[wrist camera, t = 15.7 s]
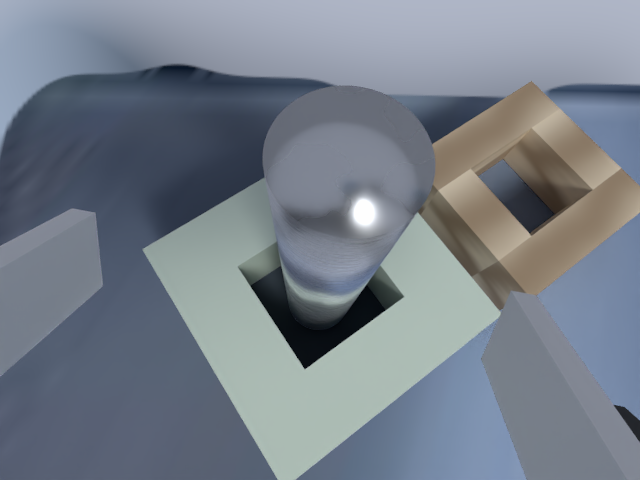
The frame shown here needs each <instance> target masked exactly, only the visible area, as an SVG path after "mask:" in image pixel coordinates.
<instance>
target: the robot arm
mask: <svg viewBox="0 0 640 480" xmlns="http://www.w3.org/2000/svg"><path fill="white" fill-rule="evenodd" d="M102 286H103V282H102V272H101V262H100V252H99V243H98V233H97V223H96V213H94V212H89V211H83V210H78V209H73V208H72V209H70V210H68V211H66V212H64V213H62V214H60V215H58V216H56V217H55V218H53V219H51V220H49V221H47V222H45V223H43V224H41V225H39V226H37V227H35V228H34V229H32V230H30V231H28V232H26V233H24V234H22V235H20V236H18V237H16V238H14V239H13V240H11V241H9V242H7V243H5V244H3V245H1V246H0V376H1V375H3V374H4V373H5V372H6V371H7V370H8V369H9V368H11V367H12V366H13V365H14V364H15V363H16V362H17V361H18V360H20V359H21V358H22V357H23V356H24V355H25V354H26V353H28V352H29V351H30V350H31V349H32V348H33V347H34V346H35V345H37V344H38V343H39V342H40V341H41V340H42V339H43V338H45V337H46V336H47V335H48V334H49V333H50V332H51V331H53V330H54V329H55V328H56V327H57V326H58V325H59V324H60V323H62V322H63V321H64V320H65V319H66V318H67V317H68V316H70V315H71V314H72V313H73V312H74V311H75V310H76V309H77V308H79V307H80V306H81V305H82V304H83V303H84V302H85V301H87V300H88V299H89V298H90V297H91V296H92V295H93V294H95V293H96V292H97V291H98V290H99V289H100V288H101V287H102ZM481 360H482V362H483V365H484V368H485V370H486V373H487V376H488V378H489V381H490V384H491V386H492V389H493V391H494V394H495V397H496V399H497V402H498V405H499V407H500V410H501V413H502V415H503V418H504V421H505V423H506V426H507V429H508V431H509V434H510V436H511V439H512V442H513V444H514V447H515V450H516V452H517V455H518V458H519V460H520V463H521V466H522V468H523V471H524V474H525V476H526V479H527V480H640V421H639V420H638V419H637V418H636V417H635V416H634V415H633V414H632V413H630V412H629V411H628V410H627V409H626V408H625V407H621V406H616V405H613V404H612V402H611V401H610V399H609V398H608V397H607V395H606V394H605V392H604V391H603V390H602V388H601V387H600V385H599V384H598V382H597V381H596V380H595V378H594V377H593V375H592V374H591V373H590V371H589V370H588V368H587V367H586V365H585V364H584V363H583V361H582V360H581V358H580V357H579V356H578V354H577V353H576V351H575V350H574V348H573V347H572V346H571V344H570V343H569V341H568V340H567V338H566V337H565V336H564V334H563V333H562V331H561V330H560V329H559V327H558V326H557V324H556V323H555V321H554V320H553V319H552V317H551V316H550V314H549V313H548V312H547V310H546V309H545V307H544V306H543V304H542V303H541V302H540V300H539V299H538V297H537V296H536V295H532V294H527V293H521V292H516V291H511V292H510V294H509V296H508V298H507V301H506V303H505V305H504V308H503V310H502V312H501V315H500V317H499V319H498V321H497V324H496V326H495V328H494V331H493V333H492V335H491V338H490V340H489V342H488V344H487V347H486V349H485V351H484V354H483V356H482V358H481Z"/></svg>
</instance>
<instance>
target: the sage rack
mask: <svg viewBox="0 0 640 480" xmlns="http://www.w3.org/2000/svg"><path fill="white" fill-rule="evenodd" d="M143 251H144V253H145V255H146V256H147V258H148V260H149V261H150V263H151V265H152V266H153V268H154V270H155V272H156V273H157V275H158V277H159V278H160V280H161V282H162V283H163V285H164V287H165V289H166V290H167V292H168V294H169V295H170V297H171V299H172V300H173V302H174V304H175V306H176V307H177V309H178V311H179V312H180V314H181V316H182V317H183V319H184V321H185V323H186V324H187V326H188V328H189V329H190V331H191V333H192V334H193V336H194V338H195V340H196V341H197V343H198V345H199V346H200V348H201V350H202V351H203V353H204V355H205V357H206V358H207V360H208V362H209V363H210V365H211V367H212V368H213V370H214V372H215V374H216V375H217V377H218V379H219V380H220V382H221V384H222V385H223V387H224V389H225V391H226V392H227V394H228V396H229V397H230V399H231V401H232V402H233V404H234V406H235V408H236V409H237V411H238V413H239V414H240V416H241V418H242V419H243V421H244V423H245V425H246V426H247V428H248V430H249V431H250V433H251V435H252V436H253V438H254V440H255V442H256V443H257V445H258V447H259V448H260V450H261V452H262V453H263V455H264V457H265V459H266V460H267V462H268V464H269V465H270V467H271V469H272V470H273V472H274V474H275V476H276V477H277V479H278V480H295V479H297V478H298V477H299V476H300V475H302V474H303V473H304V472H305V471H307V470H308V469H309V468H310V467H312V466H313V465H314V464H315V463H317V462H318V461H319V460H320V459H322V458H323V457H324V456H325V455H327V454H328V453H329V452H330V451H332V450H333V449H334V448H336V447H337V446H338V445H339V444H341V443H342V442H343V441H344V440H346V439H347V438H348V437H349V436H351V435H352V434H353V433H354V432H356V431H357V430H358V429H359V428H361V427H362V426H363V425H364V424H366V423H367V422H368V421H369V420H371V419H372V418H373V417H374V416H376V415H377V414H378V413H379V412H381V411H382V410H383V409H384V408H386V407H387V406H388V405H389V404H391V403H392V402H393V401H394V400H396V399H397V398H398V397H400V396H401V395H402V394H403V393H405V392H406V391H407V390H408V389H410V388H411V387H412V386H413V385H415V384H416V383H417V382H418V381H420V380H421V379H422V378H423V377H425V376H426V375H427V374H428V373H430V372H431V371H432V370H433V369H435V368H436V367H437V366H438V365H440V364H441V363H442V362H443V361H445V360H446V359H447V358H448V357H450V356H451V355H452V354H453V353H455V352H456V351H457V350H458V349H460V348H461V347H462V346H464V345H465V344H466V343H467V342H469V341H470V340H471V339H472V338H474V337H475V336H476V335H477V334H479V333H480V332H481V331H482V330H484V329H485V328H486V327H487V326H489V325H490V324H491V323H492V322H494V321H495V320H496V319H497V318H499V317H500V315H501V312H500V311H499V310H498V309H497V307H496V306H495V305H494V304H493V303H492V301H491V300H490V299H489V298H488V296H487V295H486V294H485V293H484V292H483V290H482V289H481V288H480V287H479V286H478V284H477V283H476V282H475V281H474V280H473V278H472V277H471V276H470V275H469V274H468V272H467V271H466V270H465V269H464V268H463V266H462V265H461V264H460V263H459V262H458V260H457V259H456V258H455V257H454V255H453V254H452V253H451V252H450V251H449V249H448V248H447V247H446V246H445V245H444V243H443V242H442V241H441V240H440V239H439V237H438V236H437V235H436V234H435V233H434V231H433V230H432V229H431V228H430V227H429V225H428V224H427V223H426V222H425V220H424V219H423V218H422V217H421V216H420V214H419V213H418V212H417V214H416V215H415V217H414V218H413V220H412V221H411V222H410V224H409V225H408V227H407V228H406V229H405V231H404V232H403V234H402V235H401V236H400V238H399V239H398V241H397V242H396V244H395V245H394V246H393V248H392V249H391V251H390V252H389V253H388V255H387V256H386V258H385V259H384V260H383V262H382V263H381V265H380V266H379V268H378V269H377V270H376V272H375V273H374V275H373V276H372V277H371V279H370V280H369V282H368V283H367V286H368V287H369V288H370V290H371V291H372V292H373V294H374V295H375V296H376V298H377V299H378V300H379V302H380V303H381V304H382V306H383V307H384V309H385V310H386V311H384V312H383V313H382V314H380V315H379V316H378V317H376V318H375V319H373V320H372V321H371V322H369V323H368V324H367V325H365V326H364V327H362V328H361V329H360V330H358V331H357V332H356V333H354V334H353V335H351V336H350V337H349V338H347V339H346V340H345V341H343V342H342V343H341V344H339V345H338V346H336V347H335V348H334V349H332V350H331V351H330V352H328V353H327V354H325V355H324V356H323V357H321V358H320V359H319V360H317V361H316V362H314V363H313V364H312V365H310V366H309V367H308V368H306V369H304V368H303V366H302V364H301V363H300V361H299V360H298V358H297V357H296V355H295V354H294V352H293V351H292V349H291V348H290V346H289V345H288V343H287V342H286V340H285V338H284V337H283V335H282V334H281V332H280V331H279V329H278V328H277V326H276V325H275V323H274V322H273V320H272V319H271V317H270V316H269V314H268V312H267V311H266V309H265V308H264V306H263V305H262V303H261V302H260V300H259V299H258V297H257V296H256V294H255V293H254V291H253V290H252V288H251V285H252V284H254V283H255V282H257V281H258V280H260V279H261V278H263V277H264V276H266V275H267V274H269V273H270V272H272V271H274V270H275V269H277V268H278V267H280V266H281V261H280V256H279V251H278V245H277V240H276V234H275V229H274V224H273V218H272V213H271V208H270V202H269V197H268V192H267V186H266V181H265V177H264V178H263V179H261V180H259V181H258V182H256V183H254V184H253V185H251V186H249V187H247V188H246V189H244V190H242V191H241V192H239V193H237V194H236V195H234V196H232V197H230V198H229V199H227V200H225V201H224V202H222V203H220V204H219V205H217V206H215V207H213V208H212V209H210V210H208V211H207V212H205V213H203V214H202V215H200V216H198V217H196V218H195V219H193V220H191V221H190V222H188V223H186V224H185V225H183V226H181V227H179V228H178V229H176V230H174V231H173V232H171V233H169V234H168V235H166V236H164V237H162V238H161V239H159V240H157V241H156V242H154V243H152V244H151V245H149V246H147V247H145V248H144V249H143Z"/></svg>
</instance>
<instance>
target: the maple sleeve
mask: <svg viewBox="0 0 640 480" xmlns="http://www.w3.org/2000/svg"><path fill="white" fill-rule="evenodd" d="M432 146H433V150H434V155H435V177H434V182H433V185H432V188H431V191H430V193H429V195H428V197H427V199H426V201H425V203H424V204H423V205H422V207H421V208H420V210H419V211H418V213H419V214H420V215H421V217H422V218H423V219H424V220H425V221H426V223H427V224H428V225H429V226H430V227H431V229H432V230H433V231H434V232H435V233H436V235H437V236H438V237H439V238H440V239H441V241H442V242H443V243H444V244H445V246H446V247H447V248H448V249H449V250H450V252H451V253H452V254H453V255H454V256H455V258H456V259H457V260H458V261H459V262H460V264H461V265H462V266H463V267H464V268H465V270H466V271H467V272H468V273H469V274H470V276H471V277H472V278H473V279H474V280H475V282H476V283H477V284H478V285H479V287H480V288H481V289H482V290H483V291H484V293H485V294H486V295H487V296H488V297H489V299H490V300H491V301H492V302H493V303H494V305H495V306H496V307H497V308H498V309H499V310H501V309H503V308H504V305H505V303H506V301H507V298H508V296H509V294H510V292H511V291H516V292H521V293H527V294H532V295H538V294H539V293H540V292H541V291H543V290H544V289H545V288H546V287H547V286H549V285H550V284H551V283H552V282H554V281H555V280H556V279H557V278H559V277H560V276H561V275H562V274H564V273H565V272H566V271H567V270H569V269H570V268H571V267H572V266H574V265H575V264H576V263H577V262H579V261H580V260H581V259H582V258H584V257H585V256H586V255H587V254H589V253H590V252H591V251H592V250H594V249H595V248H596V247H597V246H599V245H600V244H601V243H602V242H604V241H605V240H606V239H607V238H608V237H610V236H611V235H612V234H613V233H615V232H616V231H617V230H618V229H620V228H621V227H622V226H623V225H625V224H626V223H627V222H628V221H630V220H631V219H632V218H633V217H635V216H636V215H637V214H638V213H640V186H639V185H638V184H637V183H636V182H635V181H634V180H633V179H632V178H631V177H630V176H629V175H628V174H627V173H626V172H625V171H624V170H623V169H622V168H621V167H620V166H618V165H617V164H616V163H615V162H614V161H613V160H612V159H611V158H610V157H609V156H608V155H607V154H606V153H605V152H604V151H603V150H602V149H601V148H600V147H599V146H598V145H597V144H596V143H595V142H594V141H593V140H592V139H591V138H590V137H589V136H588V135H587V134H585V133H584V132H583V131H582V130H581V129H580V128H579V127H578V126H577V125H576V124H575V123H574V122H573V121H572V120H571V119H570V118H569V117H568V116H567V115H566V114H565V113H564V112H563V111H562V110H561V109H560V108H559V107H558V106H557V105H556V104H555V103H554V102H552V101H551V100H550V99H549V98H548V97H547V96H546V95H545V94H544V93H543V92H542V91H541V90H540V89H539V88H538V87H537V86H536V85H535V84H534V83H533V82H532V81H531V82H529V83H528V84H526V85H525V86H523V87H522V88H520V89H518V90H517V91H515V92H514V93H512V94H511V95H509V96H507V97H506V98H504V99H503V100H501V101H500V102H498V103H496V104H495V105H493V106H492V107H490V108H489V109H487V110H485V111H484V112H482V113H481V114H479V115H477V116H476V117H474V118H473V119H471V120H470V121H468V122H466V123H465V124H463V125H462V126H460V127H459V128H457V129H455V130H454V131H452V132H451V133H449V134H448V135H446V136H444V137H443V138H441V139H440V140H438V141H437V142H435V143H433V144H432ZM502 159H504V160H505V161H506V163H507V164H508V165H509V166H510V167H511V168H512V169H513V170H514V171H515V172H516V173H517V174H518V175H519V176H520V177H521V179H522V180H523V181H524V182H525V183H526V184H527V185H528V186H529V187H530V188H531V189H532V190H533V191H534V192H535V193H536V194H537V196H538V197H539V198H540V199H541V200H542V201H543V202H544V203H545V204H546V205H547V206H548V207H549V208H550V209H551V210H552V212H553V213H554V214H555V215H553V216H552V217H551V218H549V219H548V220H547V221H545V222H544V223H543V224H541V225H540V226H539V227H537V228H536V229H535V230H533V231H532V232H531V233H529V232H528V231H527V230H526V229H525V228H524V227H523V226H522V225H521V224H520V223H519V221H518V220H517V219H516V218H515V217H514V216H513V215H512V214H511V213H510V211H509V210H508V209H507V208H506V207H505V206H504V205H503V204H502V203H501V202H500V200H499V199H498V198H497V197H496V196H495V195H494V194H493V193H492V192H491V190H490V189H489V188H488V187H487V186H486V185H485V184H484V183H483V182H482V181H481V179H480V178H479V177H478V176H479V175H480V174H482V173H483V172H485V171H486V170H488V169H489V168H490V167H492V166H493V165H495V164H496V163H498V162H499V161H501V160H502Z"/></svg>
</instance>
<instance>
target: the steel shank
mask: <svg viewBox="0 0 640 480" xmlns="http://www.w3.org/2000/svg"><path fill="white" fill-rule="evenodd" d="M262 162H263V170H264V176H265V181H266V186H267V192H268V197H269V202H270V208H271V213H272V218H273V224H274V229H275V234H276V240H277V245H278V251H279V256H280V261H281V267H282V272H283V277H284V283H285V288H286V293H287V299H288V304H289V308H290V311H291V313H292V315H293V317H294V318H295V319H296V320H297V321H298V322H299V323H300V324H301V325H303V326H305V327H307V328H309V329H313V330H324V329H328V328H331V327H333V326H334V325H336V324H337V323H339V322H340V321H341V320H342V318H343V317H344V316H345V314H346V313H347V311H348V310H349V308H350V307H351V306H352V304H353V303H354V301H355V300H356V299H357V297H358V296H359V294H360V293H361V292H362V290H363V289H364V287H365V286H366V284H367V283H368V282H369V280H370V279H371V277H372V276H373V275H374V273H375V272H376V270H377V269H378V268H379V266H380V265H381V263H382V262H383V260H384V259H385V258H386V256H387V255H388V253H389V252H390V251H391V249H392V248H393V246H394V245H395V244H396V242H397V241H398V239H399V238H400V236H401V235H402V234H403V232H404V231H405V229H406V228H407V227H408V225H409V224H410V222H411V221H412V220H413V218H414V217H415V215H416V214H417V212H418V211H419V210H420V208H421V207H422V205H423V204H424V203H425V201H426V199H427V197H428V195H429V193H430V191H431V188H432V185H433V182H434V177H435V155H434V150H433V146H432V143H431V140H430V138H429V136H428V133H427V132H426V130H425V128H424V127H423V125H422V124H421V122H420V121H419V120H418V119H417V117H416V116H415V115H414V114H413V113H412V112H411V111H410V110H409V109H408V108H406V107H405V106H404V105H402V104H401V103H400V102H398V101H396V100H395V99H393V98H392V97H390V96H387V95H385V94H383V93H381V92H378V91H375V90H372V89H368V88H363V87H357V86H333V87H327V88H322V89H318V90H315V91H312V92H309V93H307V94H305V95H303V96H301V97H299V98H298V99H296V100H295V101H293V102H292V103H290V104H289V105H288V106H287V107H286V108H284V109H283V111H282V112H281V113H280V114H279V115H278V116H277V117H276V119H275V120H274V122H273V123H272V125H271V127H270V129H269V131H268V133H267V136H266V139H265V142H264V147H263V161H262Z"/></svg>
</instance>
